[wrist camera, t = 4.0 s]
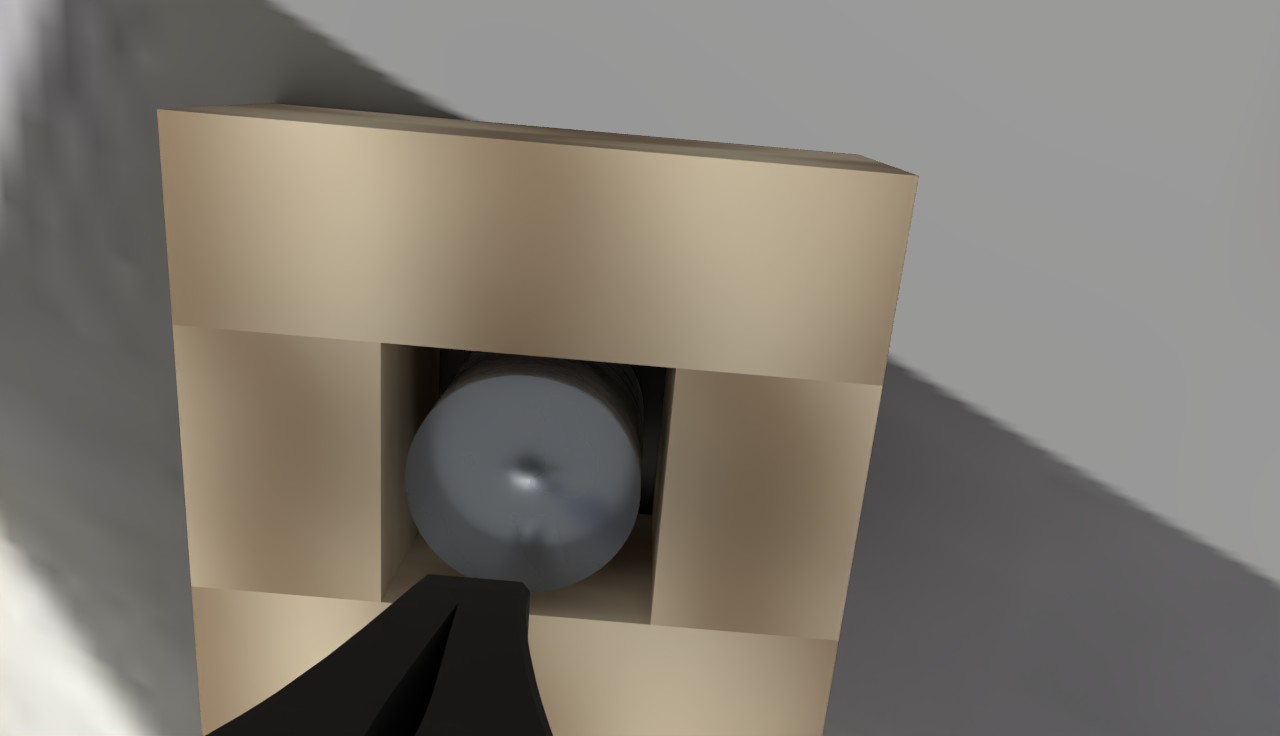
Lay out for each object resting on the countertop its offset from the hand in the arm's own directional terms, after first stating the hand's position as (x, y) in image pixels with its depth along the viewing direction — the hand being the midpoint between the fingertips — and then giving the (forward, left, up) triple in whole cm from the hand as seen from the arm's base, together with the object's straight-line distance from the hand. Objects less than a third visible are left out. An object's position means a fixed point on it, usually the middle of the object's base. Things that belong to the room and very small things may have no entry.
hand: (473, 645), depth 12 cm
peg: (0, 0, -9) cm, 9 cm away
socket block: (0, +6, -9) cm, 11 cm away
